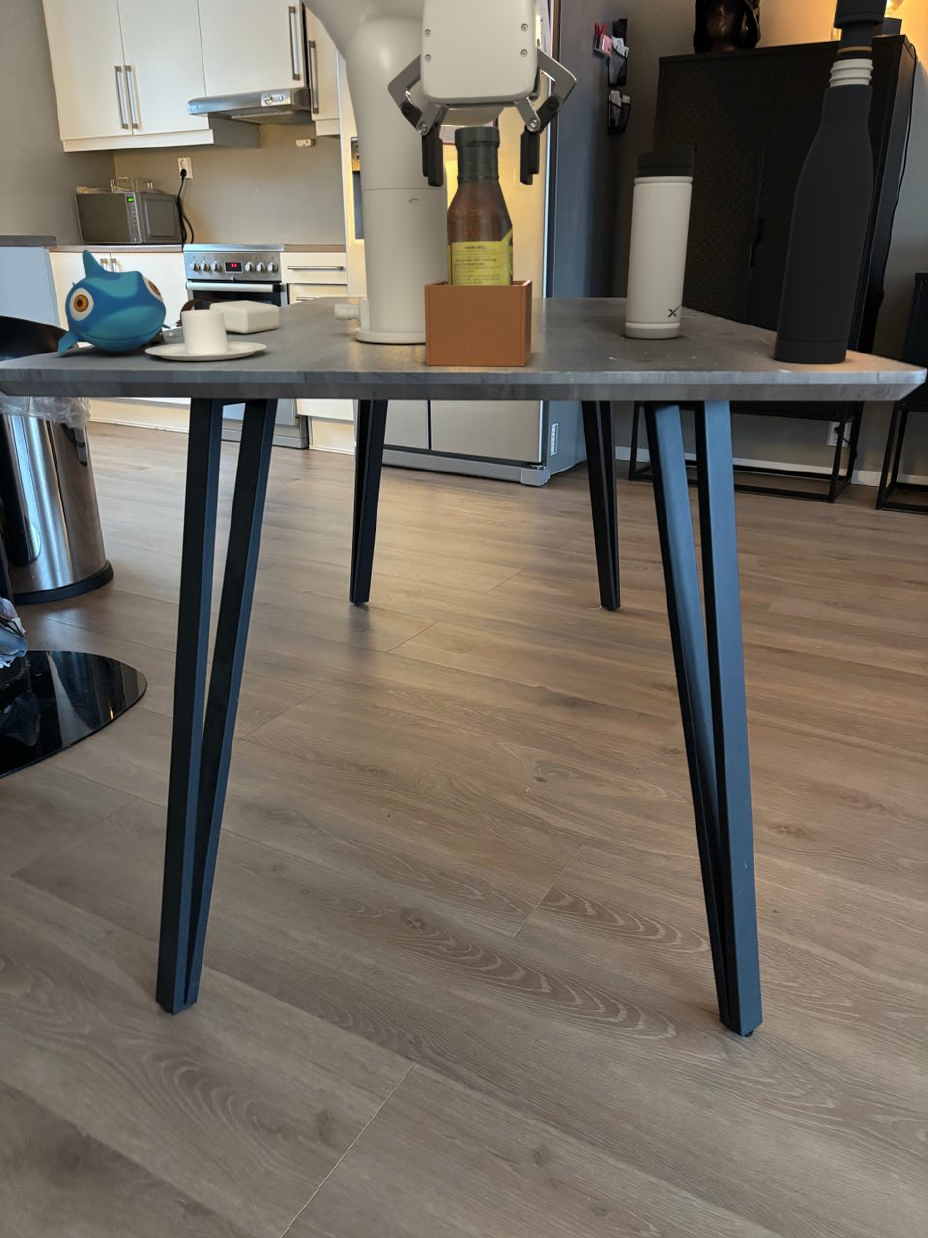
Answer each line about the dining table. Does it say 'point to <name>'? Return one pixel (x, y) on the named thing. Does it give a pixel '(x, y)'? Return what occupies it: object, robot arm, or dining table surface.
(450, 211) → the sauce bottle
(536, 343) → the dining table surface
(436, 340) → the box
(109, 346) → the toy
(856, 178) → the black water bottle
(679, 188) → the travel mug
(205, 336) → the candle holder
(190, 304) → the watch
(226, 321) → the soap
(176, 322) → the witch figurine
